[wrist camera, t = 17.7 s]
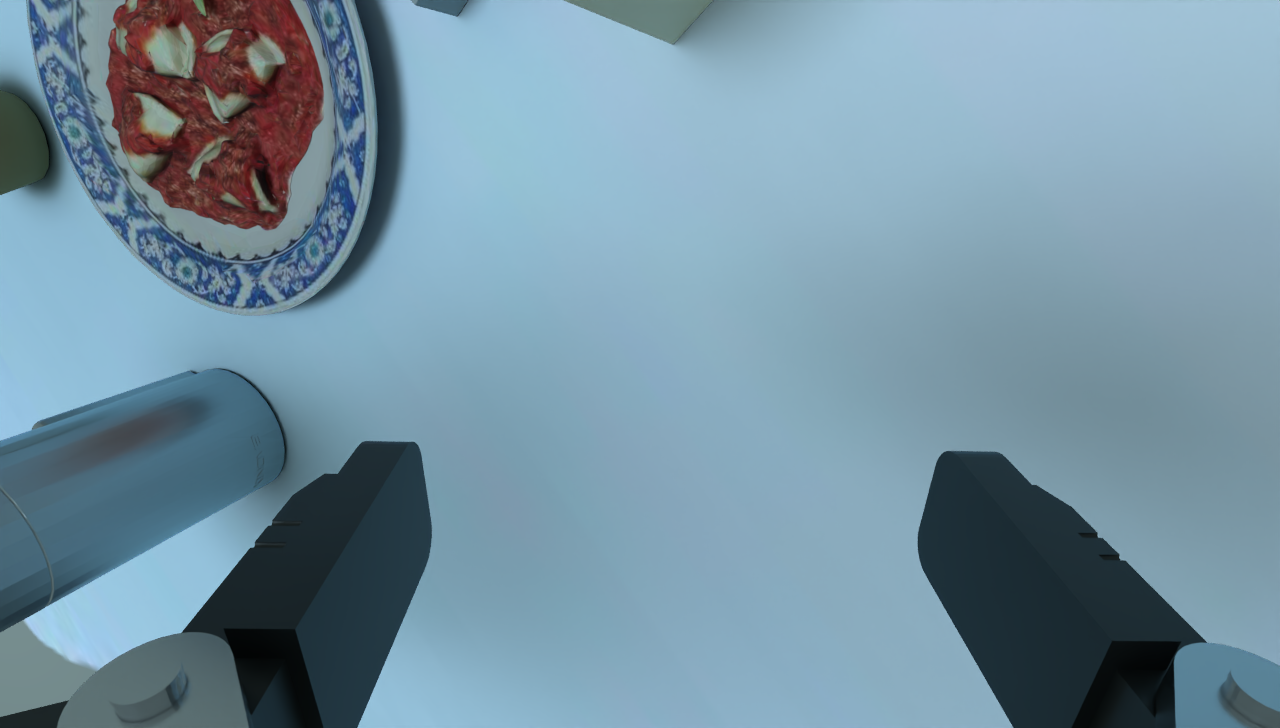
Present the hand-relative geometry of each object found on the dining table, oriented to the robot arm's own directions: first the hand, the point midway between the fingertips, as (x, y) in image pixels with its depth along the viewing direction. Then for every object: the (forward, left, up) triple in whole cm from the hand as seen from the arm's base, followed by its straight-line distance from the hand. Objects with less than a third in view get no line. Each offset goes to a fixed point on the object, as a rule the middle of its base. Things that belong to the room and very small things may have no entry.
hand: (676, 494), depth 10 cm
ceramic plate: (-35, 0, -21) cm, 41 cm away
